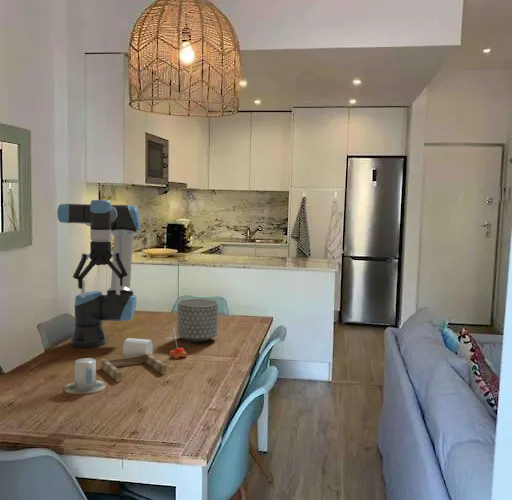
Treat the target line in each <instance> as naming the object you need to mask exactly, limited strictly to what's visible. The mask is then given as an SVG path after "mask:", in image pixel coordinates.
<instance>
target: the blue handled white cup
mask: <svg viewBox="0 0 512 500" xmlns="http://www.w3.org/2000/svg"><path fill="white" fill-rule="evenodd" d="M96 380H97V361H96V359H95V358H91V357H86V358H78V359H76V360H74V382H75V388H76V389H80V390H87V389H92V388H94V387H95V386H96Z"/></svg>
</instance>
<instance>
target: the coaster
mask: <svg viewBox="0 0 512 500" xmlns="http://www.w3.org/2000/svg"><path fill="white" fill-rule="evenodd" d="M106 388H107V384H106V382H104V381H103V380H98V379H96V386H95V387H94V388H92V389H87V390H80V389H76V388H75V381H72V382H69V383H67V384H66V385H65V386H64V387H63V391H64V393H65V392H66V393H67V394H70V395H77V396H85V395H92V394H96V393H99V392H102V391H103V390H105V389H106Z"/></svg>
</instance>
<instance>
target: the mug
mask: <svg viewBox="0 0 512 500" xmlns="http://www.w3.org/2000/svg"><path fill="white" fill-rule="evenodd" d="M153 346H154V345H153V341H152V339H145V338H131V337H128V338H126V339H125V340H124V343H123V346H122V353H123V357H131V356H138V355H145V353H149V354H151V355H152V356H153V350H154V347H153Z"/></svg>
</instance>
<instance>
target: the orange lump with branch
mask: <svg viewBox="0 0 512 500" xmlns="http://www.w3.org/2000/svg"><path fill="white" fill-rule="evenodd" d="M172 329H173V330H172V331H173V335H174V336H168V337H165V339H164V340H169V339H174V340H177V334H176V332H175V328H172ZM175 344H176V345H178V343H177V341H175ZM169 355H170V357H172V358H173V359H175V360H178V359H179V358H186V357H187V356H188V353H187V351H185V349H184V348H183V347H178V346H176V348H175V349H174V350H173V349H171V350H170V351H169Z"/></svg>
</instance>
